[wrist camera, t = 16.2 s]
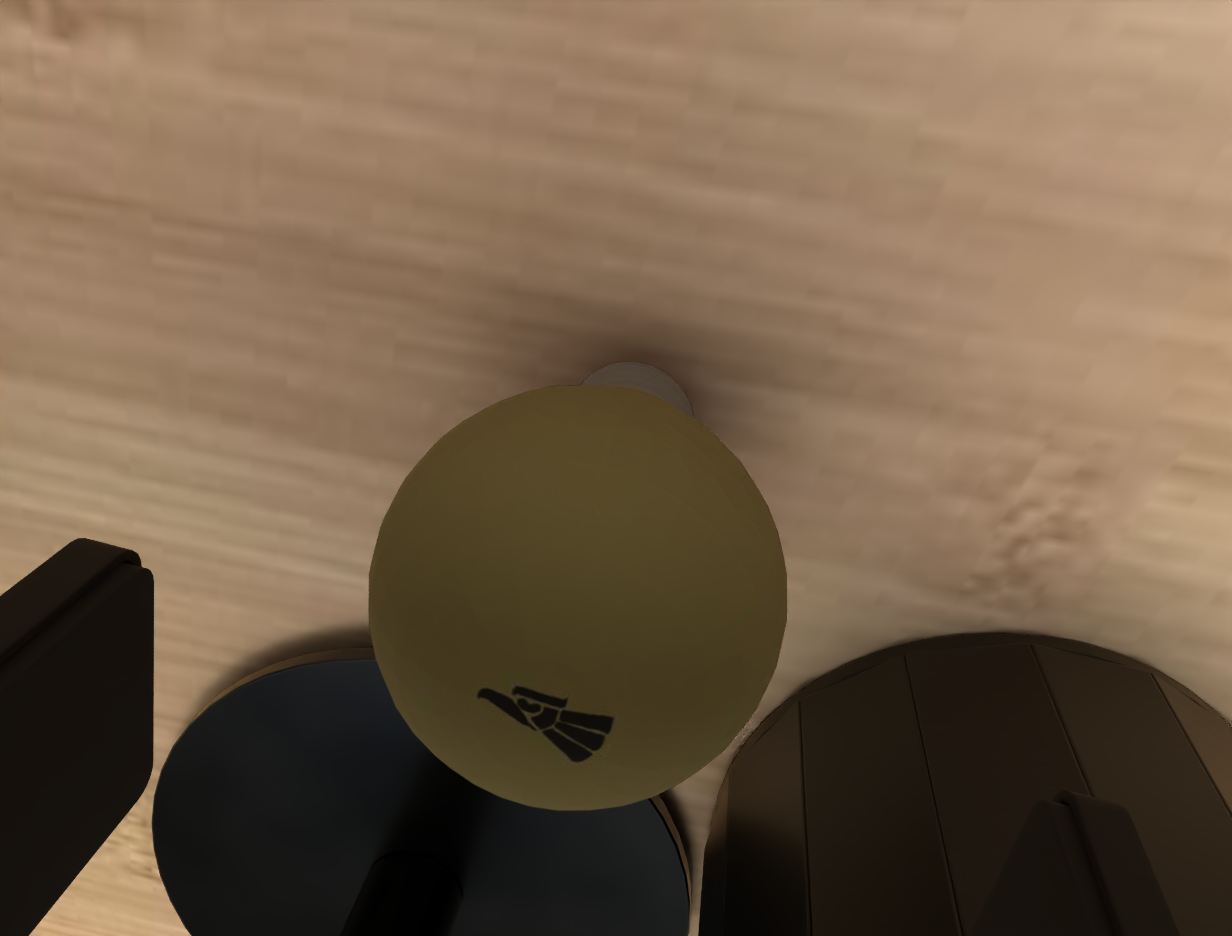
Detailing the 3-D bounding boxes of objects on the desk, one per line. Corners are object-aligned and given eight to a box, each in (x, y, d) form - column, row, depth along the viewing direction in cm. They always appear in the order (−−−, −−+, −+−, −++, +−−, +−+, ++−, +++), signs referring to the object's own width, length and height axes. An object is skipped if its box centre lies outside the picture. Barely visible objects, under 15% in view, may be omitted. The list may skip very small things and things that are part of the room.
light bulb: (799, 282, 19) (829, 536, 10) (761, 547, 22) (758, 946, 13) (501, 252, 20) (279, 470, 11) (496, 514, 22) (309, 875, 13)
